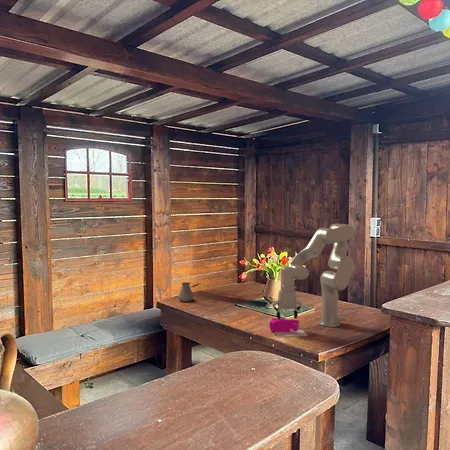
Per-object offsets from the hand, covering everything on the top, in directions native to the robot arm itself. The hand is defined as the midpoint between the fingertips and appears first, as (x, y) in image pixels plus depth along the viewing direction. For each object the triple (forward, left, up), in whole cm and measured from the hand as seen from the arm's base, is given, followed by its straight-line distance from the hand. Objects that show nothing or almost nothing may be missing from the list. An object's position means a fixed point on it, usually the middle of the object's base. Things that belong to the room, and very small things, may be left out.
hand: (287, 318), depth 227 cm
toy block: (+1, +1, -3) cm, 4 cm away
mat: (0, +6, -7) cm, 9 cm away
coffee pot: (+52, -70, -7) cm, 87 cm away
